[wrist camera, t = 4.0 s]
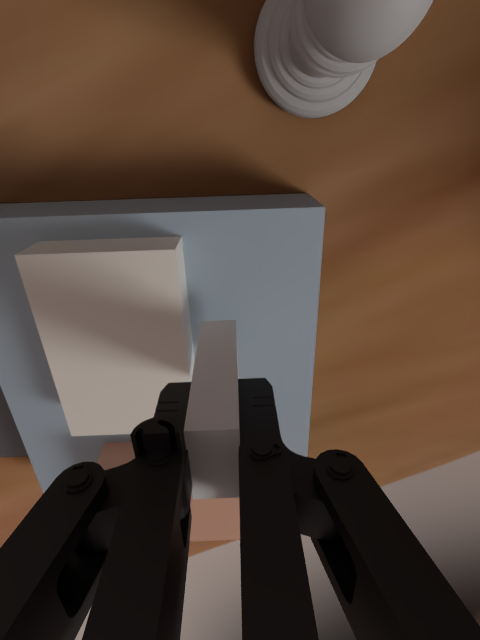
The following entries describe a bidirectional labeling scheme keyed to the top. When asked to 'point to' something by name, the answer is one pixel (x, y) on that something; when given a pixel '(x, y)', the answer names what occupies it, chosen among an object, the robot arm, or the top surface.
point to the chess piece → (327, 48)
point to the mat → (9, 432)
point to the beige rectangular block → (110, 325)
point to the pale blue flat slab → (203, 297)
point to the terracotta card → (207, 514)
